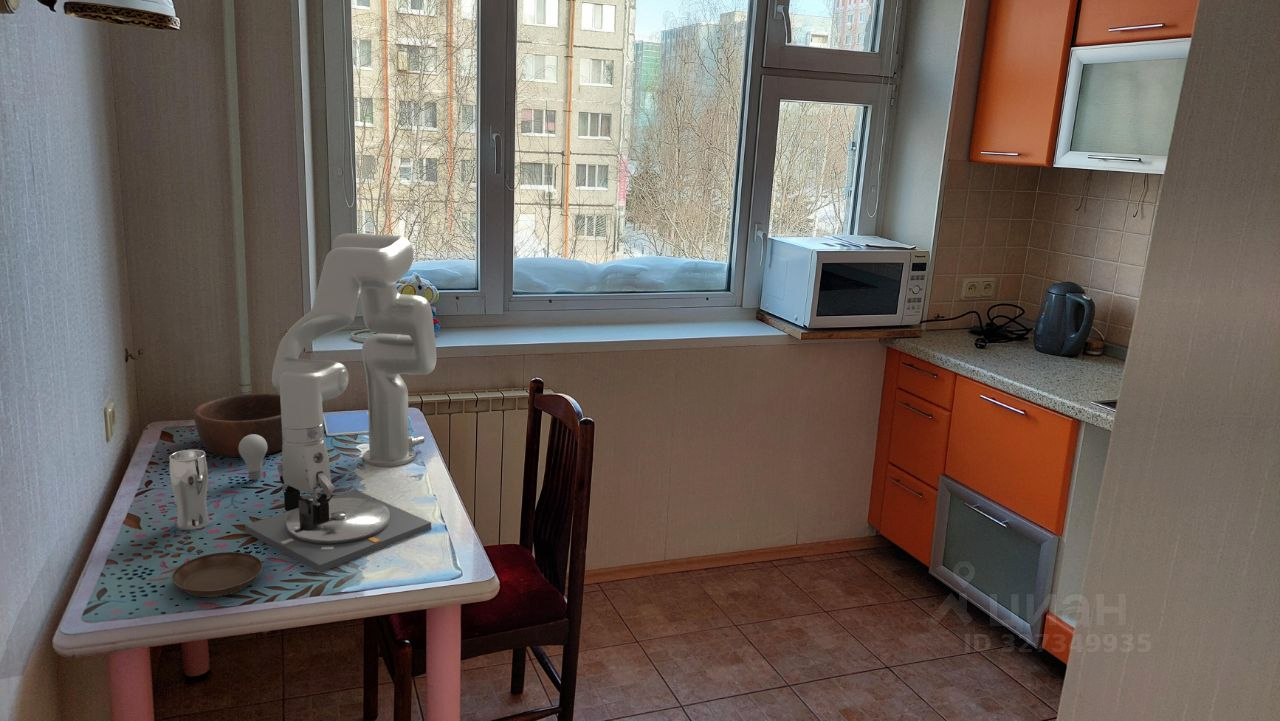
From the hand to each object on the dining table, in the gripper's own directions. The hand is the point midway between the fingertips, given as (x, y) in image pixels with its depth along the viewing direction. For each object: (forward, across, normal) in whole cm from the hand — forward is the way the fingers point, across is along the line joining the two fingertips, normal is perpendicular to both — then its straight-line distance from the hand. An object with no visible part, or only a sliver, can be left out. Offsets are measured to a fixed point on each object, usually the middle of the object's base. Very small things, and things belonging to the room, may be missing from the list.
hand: (306, 515), depth 180 cm
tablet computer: (+6, +57, -49) cm, 75 cm away
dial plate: (+6, 0, -7) cm, 9 cm away
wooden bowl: (+5, +60, -22) cm, 64 cm away
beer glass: (+6, +24, +11) cm, 27 cm away
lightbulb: (+6, +37, -10) cm, 39 cm away
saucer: (+6, -3, +20) cm, 21 cm away
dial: (+4, 0, -7) cm, 8 cm away
